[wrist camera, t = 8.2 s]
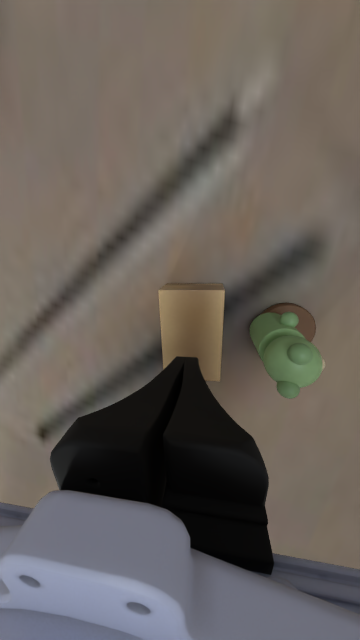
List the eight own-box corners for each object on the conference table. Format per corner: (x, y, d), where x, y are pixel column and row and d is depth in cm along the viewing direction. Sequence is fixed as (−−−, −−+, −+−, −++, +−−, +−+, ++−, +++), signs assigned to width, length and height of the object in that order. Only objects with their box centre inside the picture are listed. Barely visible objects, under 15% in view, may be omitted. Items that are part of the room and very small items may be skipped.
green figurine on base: (213, 357, 16) (288, 418, 11) (222, 302, 15) (317, 341, 9) (274, 342, 20) (351, 381, 15) (287, 297, 19) (380, 322, 13)
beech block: (170, 360, 20) (163, 377, 18) (166, 283, 18) (158, 289, 15) (218, 362, 20) (220, 381, 17) (222, 283, 17) (224, 290, 14)
